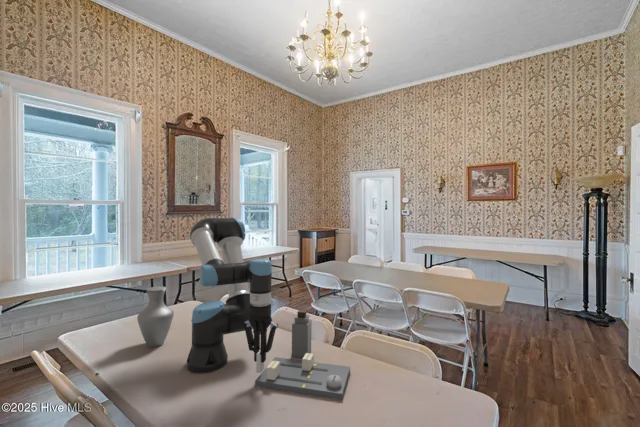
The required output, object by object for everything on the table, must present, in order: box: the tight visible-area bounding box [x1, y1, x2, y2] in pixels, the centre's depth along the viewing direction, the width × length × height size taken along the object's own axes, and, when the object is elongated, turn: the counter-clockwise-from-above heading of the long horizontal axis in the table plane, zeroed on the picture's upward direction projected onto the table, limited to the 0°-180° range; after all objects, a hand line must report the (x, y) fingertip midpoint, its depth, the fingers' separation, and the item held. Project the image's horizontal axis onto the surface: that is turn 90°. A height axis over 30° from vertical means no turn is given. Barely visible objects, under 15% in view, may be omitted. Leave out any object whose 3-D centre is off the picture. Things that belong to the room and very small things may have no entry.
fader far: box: [301, 352, 315, 371], centre depth 114 cm, size 3×5×4 cm, turn 166°
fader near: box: [266, 360, 280, 380], centre depth 108 cm, size 3×5×4 cm, turn 167°
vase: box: [136, 285, 175, 348], centre depth 138 cm, size 14×14×25 cm
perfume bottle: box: [291, 309, 313, 359], centre depth 130 cm, size 7×7×18 cm
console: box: [254, 357, 351, 401], centre depth 110 cm, size 30×18×4 cm, turn 76°
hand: (259, 370), depth 109 cm, fingers closed
